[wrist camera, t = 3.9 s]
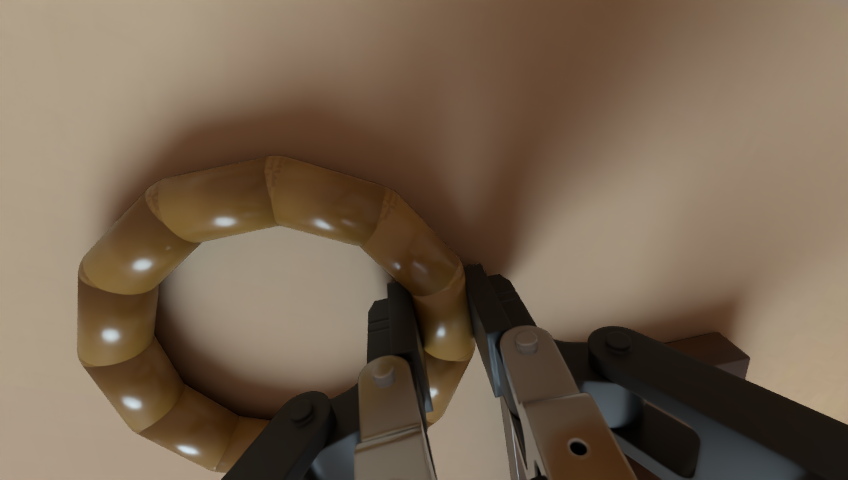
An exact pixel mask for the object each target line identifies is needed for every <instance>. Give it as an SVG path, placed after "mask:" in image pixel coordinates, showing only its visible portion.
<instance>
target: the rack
mask: <svg viewBox="0 0 848 480" xmlns="http://www.w3.org/2000/svg"><path fill="white" fill-rule="evenodd" d="M665 345H668V346H670V347H672V348H674V349H677V350H679V351H681V352H683V353H686V354H688V355H690V356H692V357H695V358H697V359H699V360H702V361H704V362H706V363H708V364H711V365H713V366H715V367H717V368H720V369H722V370H724V371H727V372H729V373H731V374H733V375H736V376H738V377H740V378H742V379H745V377H746V373H747V369H748V365H749V361H750V357H749V356H748V355H747V354H745V353H744V352H743V351H742V350H740V349H739V348H738V347H737V346H735V345H734V344H733V343H732V342H731V341H729V340H728V339H727V338H726V337H724V336H723V335H722V334H721V333H719V332H716V333H712V334H707V335H703V336H698V337H694V338H690V339H685V340H681V341H676V342H672V343H667V344H665ZM500 401H501V408H502V416H503V423H504V430H505V437H506V445H507V452H508V459H509V467H510V474H511V480H527V479H526V475H525V471H524V468H523V464H522V461H521V457H520V454H519V450H518V447H517V443H516V440H515V436H514V433H513V429H512V426H511V422H510V418H509V411H508V404H507V402H506V399H505V396H500ZM646 403H647V404H649V405H651V406H653V407H654V408H656V409H658V410H660V411H661V412H663V413H665V414H667V415H668V416H670V417H672V418H674V419H675V420H677V421H679V422H681V423H682V424H684V425H686V426H688V427H689V428H691V427H690V426H689V425H688V424H686V423H685V422H683V421H681V420H680V419H678V418H676V417H674V416H673V415H671V414H669V413H667V412H665V411H664V410H662V409H660V408H658V407H657V406H655V405H653V404H651V403H650V402H648V401H646ZM691 429H692V428H691ZM624 455H625V457H626V458H627V460H628V462H629V464H630V466H631V468H632V469H633V471H634V473H635V475H636V477H637V479H638V480H662V479H661V478H659V477H658V476H656V475H655V474H653V473H652V472H651V471H649V470H648V469H646V468H645V467H643V466H642V465H640V464H639V463H638V462H636V461H635V460H633V459H632V458H630V457H629V456H628V455H626V454H625V453H624Z"/></svg>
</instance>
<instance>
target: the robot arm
mask: <svg viewBox="0 0 848 480" xmlns="http://www.w3.org/2000/svg"><path fill="white" fill-rule="evenodd" d="M463 268H464V272H465V278H466V280H465V282H466V289H467V295H468V301H469V307H470V313H471V320H472V326H473V332H474V338H475V341H476V344H477V346H478V349H479V352H480V355H481V358H482V361H483V364H484V367H485V369H486V372H487V375H488V378H489V381H490V384H491V387H492V390H493V392H494V395H495V397H500V396H505V399H506V402H507V404H508V411H509V418H510V422H511V426H512V429H513V433H514V436H515V440H516V443H517V447H518V450H519V454H520V457H521V461H522V464H523V468H524V471H525V475H526V479H527V480H638V479H637V477H636V475H635V473H634V471H633V469H632V468H631V466H630V464H629V462H628V460H627V458H626V457H625V455H624V453H625V454H626V455H628V456H629V457H630V458H632V459H633V460H635V461H636V462H638V463H639V464H640V465H642V466H643V467H645V468H646V469H648V470H649V471H651V472H652V473H653V474H655V475H656V476H658V477H659V478H661V479H662V480H848V425H847V424H844V423H842V422H840V421H838V420H835V419H833V418H831V417H829V416H826V415H824V414H822V413H819V412H817V411H815V410H813V409H810V408H808V407H806V406H804V405H801V404H799V403H797V402H795V401H792V400H790V399H788V398H785V397H783V396H781V395H779V394H776V393H774V392H772V391H770V390H767V389H765V388H763V387H761V386H758V385H756V384H754V383H751V382H749V381H747V380H745V379H742V378H740V377H738V376H736V375H733V374H731V373H729V372H727V371H724V370H722V369H720V368H717V367H715V366H713V365H711V364H708V363H706V362H704V361H702V360H699V359H697V358H695V357H692V356H690V355H688V354H686V353H683V352H681V351H679V350H677V349H674V348H672V347H670V346H668V345H665V344H663V343H661V342H658V341H656V340H654V339H652V338H649V337H647V336H645V335H643V334H640V333H638V332H636V331H634V330H631V329H628V328H624V327H619V326H608V327H602V328H599V329H597V330H595V331H594V332H592V333H591V334H590V336H589V338H588V343H583V342H563V341H558V340H555V339H553V338H552V336H551V335H550V334H549V333H548V332H547V331H545V330H544V329H542V328H539V327H537V326H536V324H535V322H534V321H533V319H532V317H531V315H530V314H529V312H528V310H527V309H526V307H525V305H524V304H523V302H522V300H520V297H519V295H518V294H517V292H516V291H515V288H514V287H513V285H512V283H511V282H510V281H509V280H508V279H506V278H505V277H503V276H501V275H500V274H497V275H493V276H488V277H487V275H486V273H485V271H484V269H483V267H482V265H481V264H480V263H479V264H475V265H470V266H465V267H463ZM387 289H388V298H387V299H383V300H378V301H375V302H374V303H373V305H372V307H371V308H370V310H369V312H368V344H367V365H366V366H365V367H364V368H363V369H362V371H361V372H360V374H359V377H358V383H357V384H356V385H355V386H354V387H353V388H351V389H350V390H348V391H346V392H345V393H342V394H340V395H338V396H336V397H334V398H332V399H330V400H329V398H328V397H327V396H326V395H325V394H324V393H321V392H316V391H311V392H306V393H302V394H300V395H298V396H296V397H294V398H292V399H291V400H289V401H288V402H287V403H286V404H285V405H284V406H283V407H282V408H281V409H280V410H279V411H278V413H277V414H276V415H275V416H274V417H273V419H272V420H271V421H270V422H269V423H268V424H267V426H266V427H265V428H264V429H263V430H262V432H261V433H260V434H259V435H258V436H257V438H256V439H255V440H254V441H253V442H252V444H251V445H250V446H249V447H248V448H247V450H246V451H245V452H244V453H243V454H242V455H241V457H240V458H239V459H238V460H237V461H236V463H235V464H234V465H233V466H232V467H231V469H230V470H229V471H228V472H227V473H226V475H225V476H224V477H223V478H222V479H221V480H438V479H437V474H436V470H435V465H434V461H433V456H432V452H431V447H430V442H429V438H428V434H427V429H428V426H427V418H426V413H428V412H433V405H432V399H431V393H430V386H429V380H428V374H427V368H426V362H425V356H424V350H423V345H422V341H421V337H420V332H419V328H418V324H417V320H416V316H415V312H414V307H413V303H412V299H411V295H410V292H408V291H407V290H406V289H405V288H404V287H403V286H402V285H401V284H400V283H399V282H398V281H396V282H392V283H388V284H387ZM646 401H648V402H650V403H651V404H653V405H655V406H657V407H658V408H660V409H662V410H664V411H665V412H667V413H669V414H671V415H673V416H674V417H676V418H678V419H680V420H681V421H683V422H685V423H686V424H688V425H689V426H690V427H691V428H692V429H691V428H689V427H688V426H686V425H684V424H682V423H681V422H679V421H677V420H675V419H674V418H672V417H670V416H668V415H667V414H665V413H663V412H661V411H660V410H658V409H656V408H654V407H653V406H651V405H649V404H647V403H646Z"/></svg>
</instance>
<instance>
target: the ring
mask: <svg viewBox="0 0 848 480" xmlns="http://www.w3.org/2000/svg"><path fill="white" fill-rule="evenodd" d="M279 225H280V226H283V227H287V228H291V229H295V230H299V231H303V232H306V233H310V234H314V235H318V236H322V237H326V238H329V239H333V240H337V241H341V242H345V243H348V244H352V245H356V246H360V247H361V248H362V249H363V250H364V251H365V252H366V253H367V254H368V255H369V256H370V257H372V258H373V259H374V260H375V261H376V262H377V263H378V264H379V265H380V266H381V267H382V268H383V269H385V270H386V271H387V272H388V273H389V274H390V275H391V276H392V277H393V278H394V279H395V280H397V281H398V282H399V283H400V284H401V285H402V286H403V287H404V288H405V289H406V290H407V291H408V292H410V295H411V299H412V303H413V307H414V312H415V316H416V320H417V324H418V328H419V332H420V337H421V341H422V345H423V350H424V356H425V362H426V368H427V374H428V380H429V386H430V393H431V399H432V405H433V412H428V413H426V418H427V426H428V427H430V426H431V425H432V424H434V423H435V422H437V421H438V420H439V419H440V418H441V417H442V415H443V414H444V412H445V410H446V408H447V406H448V404H449V402H450V400H451V398H452V396H453V394H454V392H455V390H456V388H457V386H458V384H459V382H460V380H461V378H462V376H463V374H464V372H465V370H466V368H467V366H468V364H469V362H470V360H471V358H472V356H473V353H474V350H475V344H476V341H475V338H474V332H473V326H472V320H471V313H470V307H469V301H468V295H467V289H466V282H465V280H466V278H465V272H464V268H463V265H462V263H461V261H460V259H459V258H458V257H457V255H456V254H455V253H454V252H453V251H452V250H451V249H450V248H449V247H448V246H447V245H446V244H445V243H444V242H443V241H442V240H441V239H440V238H439V237H438V236H437V235H436V233H435V232H434V231H433V230H432V229H431V228H430V227H429V226H428V225H427V224H426V223H425V222H424V221H423V220H422V219H421V218H420V217H419V216H418V215H417V214H416V213H415V211H414V210H413V209H412V208H411V207H410V206H409V205H408V204H407V203H406V202H405V201H404V200H403V199H402V198H401V197H400V196H399V195H398V194H397V193H396V192H395V191H393V190H392V189H390V188H388V187H385V186H382V185H379V184H375V183H372V182H369V181H365V180H362V179H359V178H355V177H352V176H349V175H346V174H342V173H339V172H336V171H332V170H329V169H326V168H322V167H319V166H316V165H313V164H309V163H306V162H303V161H299V160H296V159H293V158H289V157H285V156H269V157H264V158H259V159H254V160H250V161H245V162H240V163H235V164H231V165H226V166H221V167H216V168H211V169H207V170H202V171H197V172H192V173H188V174H183V175H178V176H173V177H168V178H165V179H162V180H160V181H158V182H156V183H154V184H153V185H152V186H150V187H149V188H148V189H147V190H146V191H145V192H144V193H143V194H142V195H141V196H140V197H139V198H138V200H137V201H136V202H135V203H134V204H133V205H132V206H131V207H130V208H129V209H128V210H127V211H126V212H125V213H124V214H123V215H122V216H121V217H120V219H119V220H118V221H117V222H116V223H115V224H114V225H113V226H112V227H111V228H110V229H109V230H108V231H107V232H106V233H105V234H104V235H103V236H102V238H101V239H100V240H99V241H98V242H97V243H96V244H95V245H94V246H93V247H92V248H91V249H90V250H89V251H88V252H87V253H86V255H85V256H84V257H83V259H82V261H81V263H80V265H79V270H78V322H77V353H78V358H79V360H80V362H81V364H82V365H83V367H84V368H85V369H86V371H87V372H88V373H89V375H90V376H91V377H92V379H93V380H94V381H95V383H96V384H97V385H98V387H99V388H100V389H101V391H102V392H103V393H104V395H105V396H106V397H107V399H108V400H109V401H110V403H111V404H112V405H113V407H114V408H115V409H116V411H117V412H118V413H119V415H120V416H121V417H122V419H123V420H124V421H125V423H126V424H127V425H128V427H129V428H130V429H131V430H132V431H134V432H135V433H137V434H139V435H141V436H143V437H145V438H147V439H149V440H151V441H153V442H155V443H157V444H158V445H160V446H162V447H164V448H166V449H168V450H170V451H172V452H174V453H176V454H178V455H180V456H182V457H184V458H186V459H188V460H190V461H192V462H194V463H196V464H198V465H200V466H202V467H204V468H206V469H208V470H210V471H215V472H223V473H227V472H228V471H229V470H230V469H231V467H232V466H233V465H234V464H235V463H236V461H237V460H238V459H239V458H240V457H241V455H242V454H243V453H244V452H245V451H246V450H247V448H248V447H249V446H250V445H251V444H252V442H253V441H254V440H255V439H256V438H257V436H258V435H259V434H260V433H261V432H262V430H263V429H264V428H265V427H266V426H267V424H268V423H269V422H270V420H264V419H257V418H250V417H243V416H238V415H236V414H235V413H233V412H231V411H230V410H228V409H226V408H224V407H223V406H221V405H219V404H218V403H216V402H214V401H213V400H211V399H209V398H207V397H206V396H204V395H202V394H201V393H199V392H197V391H195V390H194V389H192V388H190V387H189V386H187V385H185V384H184V383H183V381H182V380H181V378H180V376H179V375H178V373H177V372H176V370H175V368H174V367H173V365H172V363H171V362H170V360H169V359H168V357H167V355H166V354H165V352H164V350H163V349H162V347H161V346H160V344H159V342H158V341H157V339H156V338H155V336H154V330H155V320H156V311H157V301H158V291H159V283H160V282H161V281H162V280H164V279H165V278H166V277H167V276H168V275H169V274H170V273H171V272H172V271H173V270H174V269H175V268H176V267H177V266H178V265H179V264H180V263H181V262H182V261H183V260H184V259H185V258H186V257H187V256H188V255H189V254H190V253H191V252H192V251H194V250H195V249H196V248H197V247H198V246H199V245H200V244H201V243H202V242H204V241H209V240H213V239H218V238H223V237H227V236H232V235H237V234H241V233H246V232H251V231H256V230H260V229H265V228H270V227H274V226H279Z"/></svg>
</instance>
